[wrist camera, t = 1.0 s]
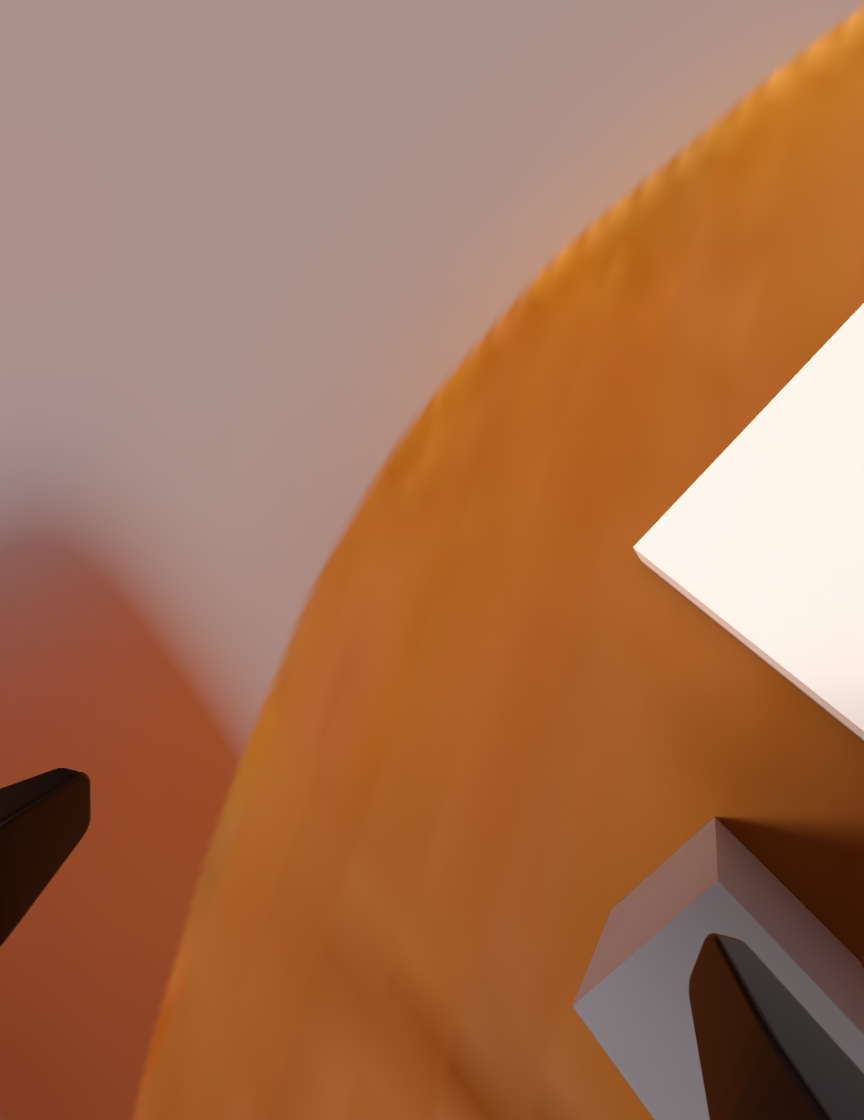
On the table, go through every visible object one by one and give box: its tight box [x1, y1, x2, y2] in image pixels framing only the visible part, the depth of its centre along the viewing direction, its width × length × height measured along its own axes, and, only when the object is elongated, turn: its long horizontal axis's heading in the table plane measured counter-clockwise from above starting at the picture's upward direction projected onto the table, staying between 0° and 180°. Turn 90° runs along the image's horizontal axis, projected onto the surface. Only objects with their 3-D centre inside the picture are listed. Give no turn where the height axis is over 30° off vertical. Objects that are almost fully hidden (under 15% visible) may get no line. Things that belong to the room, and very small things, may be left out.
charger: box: [573, 817, 864, 1120], centre depth 12 cm, size 4×4×5 cm
